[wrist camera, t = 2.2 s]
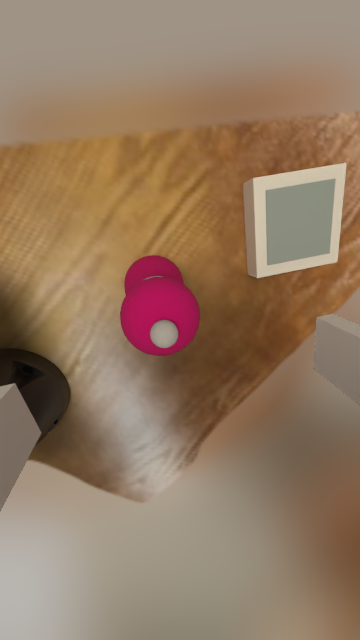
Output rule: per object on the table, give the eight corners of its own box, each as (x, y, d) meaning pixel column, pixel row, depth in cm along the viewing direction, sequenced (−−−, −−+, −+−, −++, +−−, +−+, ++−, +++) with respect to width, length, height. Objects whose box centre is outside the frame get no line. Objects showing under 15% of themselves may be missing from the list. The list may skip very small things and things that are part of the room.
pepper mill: (126, 251, 30) (98, 275, 12) (180, 254, 31) (232, 282, 13) (127, 303, 33) (104, 392, 14) (176, 304, 34) (215, 388, 15)
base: (247, 274, 34) (257, 278, 31) (242, 183, 29) (254, 177, 26) (321, 259, 35) (338, 262, 32) (327, 169, 30) (348, 162, 27)
